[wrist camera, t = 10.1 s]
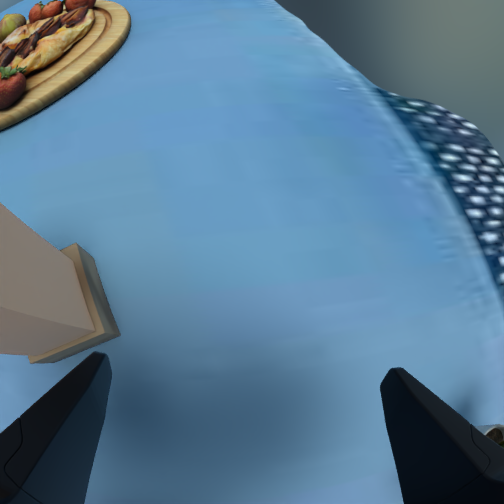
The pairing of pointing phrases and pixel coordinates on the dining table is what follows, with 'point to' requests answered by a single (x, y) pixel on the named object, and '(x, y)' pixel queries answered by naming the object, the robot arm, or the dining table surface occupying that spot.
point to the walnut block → (95, 305)
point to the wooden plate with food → (55, 52)
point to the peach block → (37, 292)
